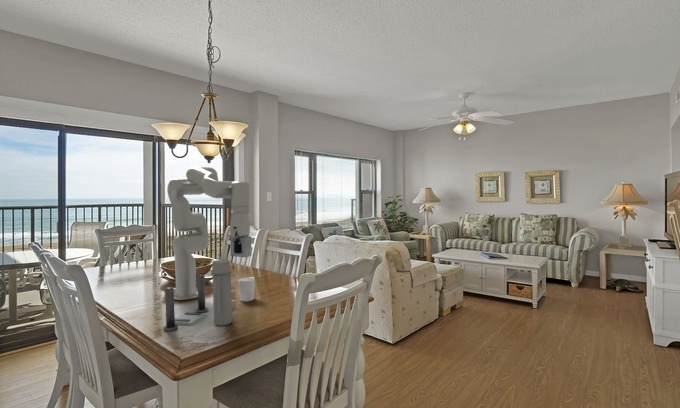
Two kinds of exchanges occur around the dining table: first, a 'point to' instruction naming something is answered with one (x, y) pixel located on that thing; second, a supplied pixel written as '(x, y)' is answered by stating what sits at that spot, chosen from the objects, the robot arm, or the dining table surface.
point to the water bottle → (222, 292)
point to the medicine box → (245, 247)
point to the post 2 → (201, 294)
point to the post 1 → (170, 310)
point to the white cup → (246, 288)
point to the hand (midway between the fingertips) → (240, 251)
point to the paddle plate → (189, 318)
